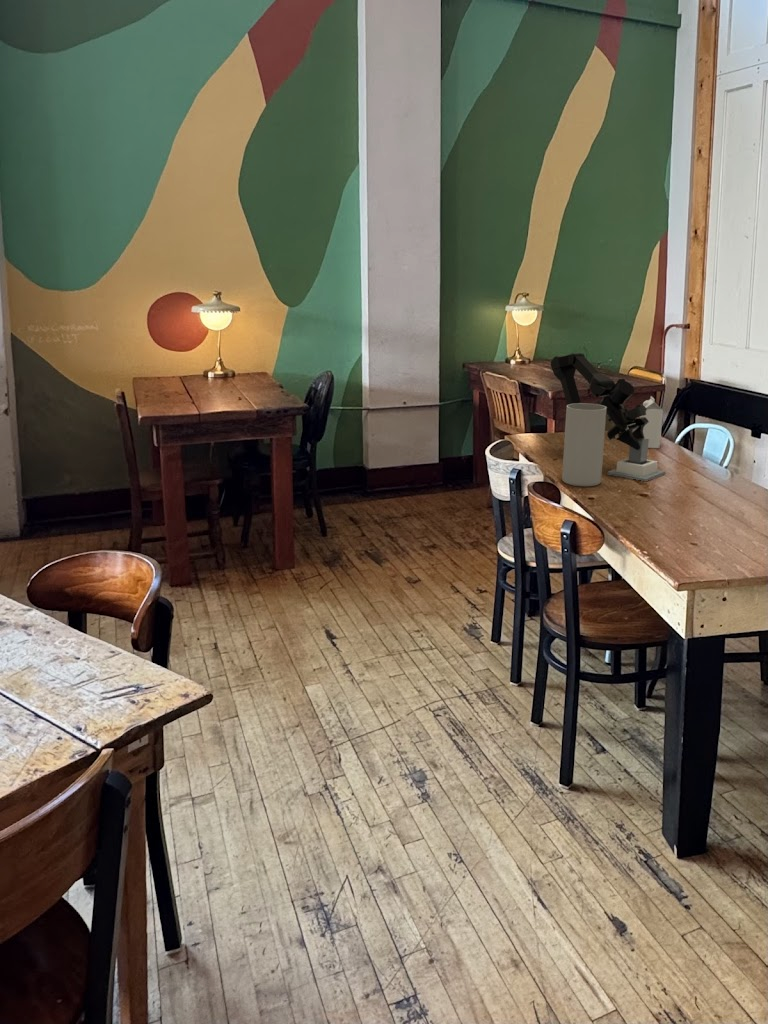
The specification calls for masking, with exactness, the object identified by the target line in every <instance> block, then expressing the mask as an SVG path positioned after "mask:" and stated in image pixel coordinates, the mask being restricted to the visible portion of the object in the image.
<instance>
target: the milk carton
mask: <svg viewBox="0 0 768 1024" xmlns="http://www.w3.org/2000/svg"><path fill="white" fill-rule="evenodd" d="M655 400H656V399H655V398H654V397H653V396H652V395H651V396H650V398H649V399H647V400H645V401H644V402H643V403H642V404H643V405H644V406H645V408H647V410H646V415H644V416H643V415H642V416H640V417H646V419H647V420H648V421H649V422H648V423H647V424H646V425H645V426H644V428H643V434H644V438H645V439H649V442H648V449H660V446H661V444H660V443H661V435H662V434H661V433H662V425H663V424H662V423H663V414H664V413H663V412H664V409H662V408H661V407H660V405H658V404H657V403H656V401H655ZM640 417H639V418H640Z"/></svg>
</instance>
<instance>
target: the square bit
mask: <svg viewBox="0 0 768 1024" xmlns="http://www.w3.org/2000/svg"><path fill="white" fill-rule="evenodd" d="M635 439H636V441H637V443H638V445H639V447H640V449H639V450H636V449H634V448H633V447H631V446H629V451H628V458H629V461H628V462H629V463H634V464H640V465H643V464H646V463H647V460H648V452H649V448H648V442H649V439H645V438H639V437H636V438H635Z"/></svg>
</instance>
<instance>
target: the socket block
mask: <svg viewBox="0 0 768 1024" xmlns="http://www.w3.org/2000/svg"><path fill="white" fill-rule="evenodd" d="M628 461H629V457H627V458H624V459H620V460H618V461H616V468H615V469H611V470H609V471H607V475H609V476H612V475H613V477H618V476H619V477H618V478H623V477H625V478H624V479H628V478H630V479H629V480H633V479H636V480H635V481H638V480H641V481H640V482H643V481H647V482H649V481H652V480H654V479H657V478H659V476H660V477H662V476H665V475H666V471H665V470H661V469H658V463H659V461H657V460H653V459H647V463H646V464H643V465H640V464H634V463H629V462H628ZM664 474H665V475H664ZM651 479H652V480H651ZM648 480H649V481H648Z"/></svg>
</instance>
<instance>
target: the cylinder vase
mask: <svg viewBox="0 0 768 1024" xmlns="http://www.w3.org/2000/svg"><path fill="white" fill-rule="evenodd" d="M606 409H607V407H606V406H603V405H598V403H589V402H588V403H586V402H585V403H582V402H581V403H577V404H569V405H566V409H565V412H566V413H565V427H564V435H565V439H564V440H563V441H564V442H563V456H562V457H563V458H562V459H563V460H562V474H561V475H562V476H561V478H562V479H561V481H562V482H563V483H565V484H566V485H569V486H575V487H582V488H583V487H596V486H598V485H600V484H601V482H602V474H603V460H604V450H605V449H604V446H605V445H604V444H605V433H606V421H607V414H606Z"/></svg>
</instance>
